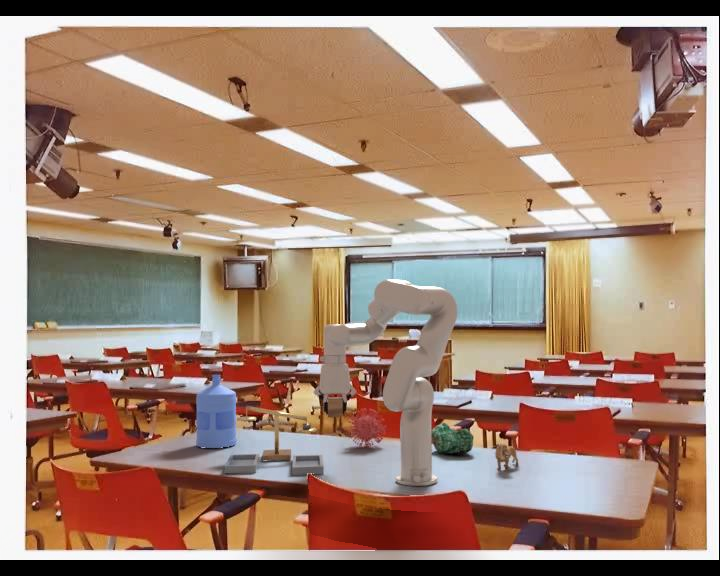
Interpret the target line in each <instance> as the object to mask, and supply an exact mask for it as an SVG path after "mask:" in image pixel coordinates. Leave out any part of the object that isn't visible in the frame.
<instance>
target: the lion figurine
mask: <svg viewBox="0 0 720 576" xmlns="http://www.w3.org/2000/svg"><path fill="white" fill-rule="evenodd" d="M511 456H512V458H513V459H512V462H511V463H514V466H516V467H518V466H519V459H518V457H517V450H516V448H515V447H513V446H511V445H509V446H508V444H505V443H500V444H498V445H497V446H496V448H495V459H496V462H497V469H496V470H497V471H501V470H502V465H501V463H504V464H503V467H504V471H505V472H509V471H510V469H509V462H510V458H511Z"/></svg>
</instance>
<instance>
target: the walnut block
mask: <svg viewBox="0 0 720 576" xmlns="http://www.w3.org/2000/svg"><path fill="white" fill-rule="evenodd" d="M327 402H328V414H327V418H343V415H344V414H343V397H341V396H340V397H338V396H337V397H328V398H327Z"/></svg>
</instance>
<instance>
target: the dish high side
mask: <svg viewBox="0 0 720 576" xmlns="http://www.w3.org/2000/svg"><path fill="white" fill-rule="evenodd" d="M258 463H259V464H260V453H244V454H242V453H241V454H240V453H239V454H238V453H237V454H230V455H229V458H228V459H227V461H226V463H225V465H224V474H225V473H239V474H256V473H257V470H258V466H259V464H258Z"/></svg>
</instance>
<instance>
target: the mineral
mask: <svg viewBox="0 0 720 576" xmlns="http://www.w3.org/2000/svg"><path fill="white" fill-rule="evenodd" d="M431 441H432V444H433V446H434V449H435V450H436V451H437V453H438V454H441V455H449V454H454V453H458V452H459V453H462V454H466V453H470V452H471V451H472V449H473V445H474V435H473V434H472V432H471V431H469V429H467V428H462V429H461V430H459V431H458V430H456V429H452V428H451V427H450V425H449V424H448V423H446V422H442V423H440V424H437V425H436V426H435V427H433V428H431Z"/></svg>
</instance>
